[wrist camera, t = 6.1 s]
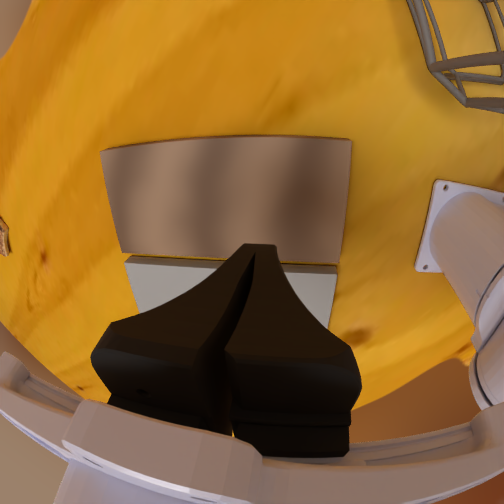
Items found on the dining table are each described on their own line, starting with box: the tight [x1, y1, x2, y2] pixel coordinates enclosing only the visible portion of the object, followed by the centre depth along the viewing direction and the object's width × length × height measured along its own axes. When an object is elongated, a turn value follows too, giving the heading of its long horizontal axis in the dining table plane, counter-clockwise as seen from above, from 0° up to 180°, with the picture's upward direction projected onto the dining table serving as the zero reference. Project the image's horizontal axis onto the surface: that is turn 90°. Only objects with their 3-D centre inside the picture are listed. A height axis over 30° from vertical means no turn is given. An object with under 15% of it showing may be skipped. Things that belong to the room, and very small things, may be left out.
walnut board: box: [100, 135, 352, 263], centre depth 20 cm, size 18×9×1 cm, turn 91°
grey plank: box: [124, 256, 337, 328], centre depth 25 cm, size 18×11×1 cm, turn 91°
